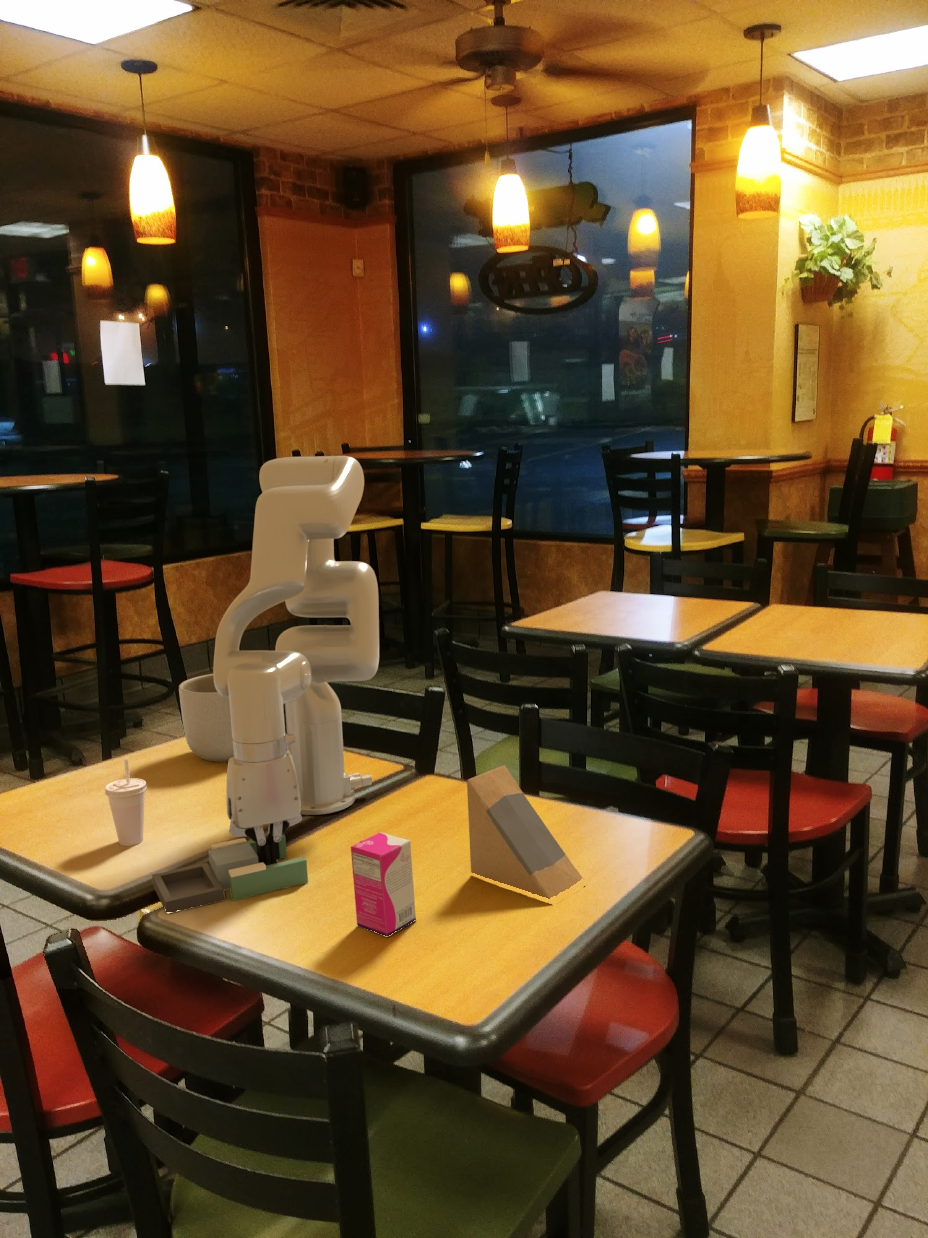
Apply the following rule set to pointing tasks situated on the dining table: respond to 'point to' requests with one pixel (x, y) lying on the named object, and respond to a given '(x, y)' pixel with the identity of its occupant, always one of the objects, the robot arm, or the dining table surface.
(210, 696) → the planter
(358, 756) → the dining table surface
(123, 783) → the smoothie
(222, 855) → the block
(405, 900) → the supplement box
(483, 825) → the sandwich container
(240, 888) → the tunnel
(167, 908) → the tray
